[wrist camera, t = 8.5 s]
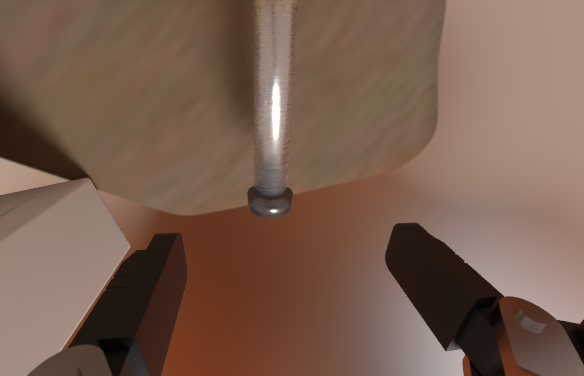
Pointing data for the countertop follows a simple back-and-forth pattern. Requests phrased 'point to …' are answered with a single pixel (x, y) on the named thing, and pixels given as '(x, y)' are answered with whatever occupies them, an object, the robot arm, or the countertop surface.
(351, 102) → the countertop surface
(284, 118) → the shaft
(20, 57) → the countertop surface
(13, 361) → the tall white carton
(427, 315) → the robot arm
